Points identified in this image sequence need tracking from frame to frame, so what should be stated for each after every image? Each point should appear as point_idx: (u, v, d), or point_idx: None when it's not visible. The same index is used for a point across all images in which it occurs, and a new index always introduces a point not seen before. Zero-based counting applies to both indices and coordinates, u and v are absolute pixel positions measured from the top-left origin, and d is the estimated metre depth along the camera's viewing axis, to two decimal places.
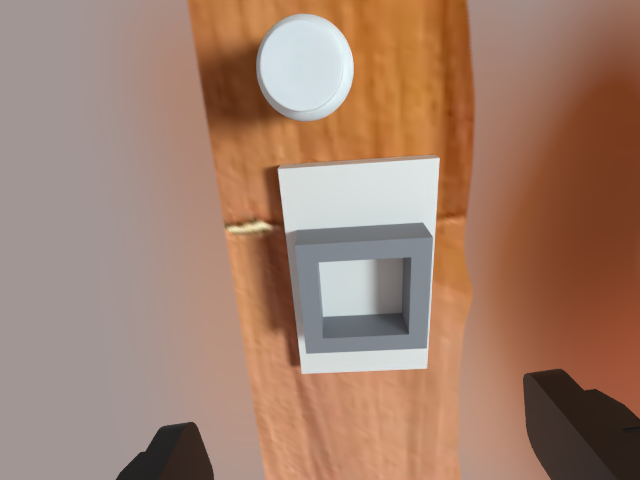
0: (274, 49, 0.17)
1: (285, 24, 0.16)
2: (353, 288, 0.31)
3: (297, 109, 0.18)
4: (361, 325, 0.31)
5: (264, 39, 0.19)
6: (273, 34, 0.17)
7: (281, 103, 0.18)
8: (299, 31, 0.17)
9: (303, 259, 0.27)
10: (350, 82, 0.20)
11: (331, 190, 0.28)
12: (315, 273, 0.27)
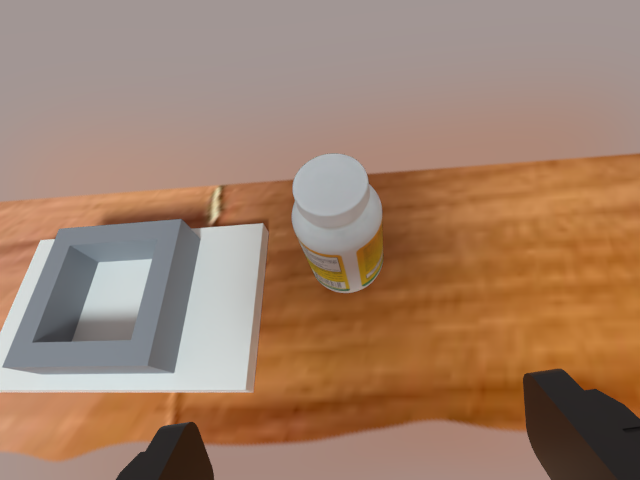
0: (345, 163, 0.19)
1: (364, 171, 0.19)
2: (119, 294, 0.27)
3: (294, 180, 0.19)
4: (69, 295, 0.26)
5: None
6: (357, 162, 0.19)
7: (301, 168, 0.19)
8: (358, 181, 0.18)
9: (164, 226, 0.26)
10: (321, 248, 0.20)
11: (233, 271, 0.27)
12: (145, 238, 0.26)
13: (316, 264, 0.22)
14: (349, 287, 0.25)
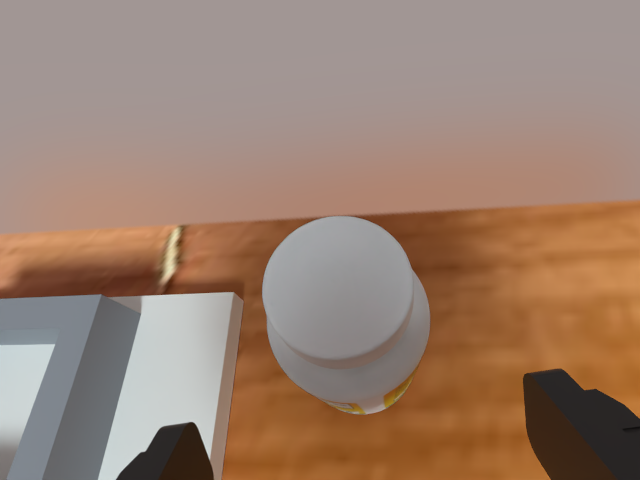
0: (367, 238, 0.10)
1: (404, 257, 0.09)
2: (14, 402, 0.18)
3: (267, 271, 0.10)
4: None
5: None
6: (389, 238, 0.10)
7: (281, 245, 0.10)
8: (393, 280, 0.09)
9: (74, 307, 0.16)
10: (318, 392, 0.11)
11: (184, 372, 0.17)
12: (43, 325, 0.16)
13: None
14: (365, 413, 0.15)
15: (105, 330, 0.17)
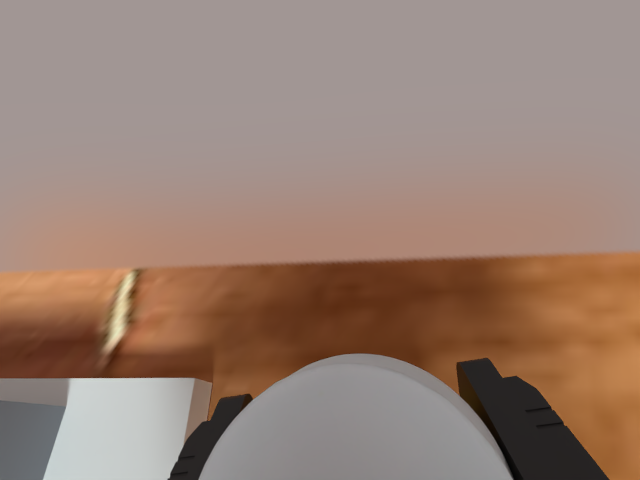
0: (420, 431, 0.04)
1: None
2: None
3: None
4: None
5: (443, 387, 0.07)
6: (471, 435, 0.04)
7: (230, 433, 0.05)
8: None
9: None
10: None
11: None
12: None
13: None
14: None
15: None
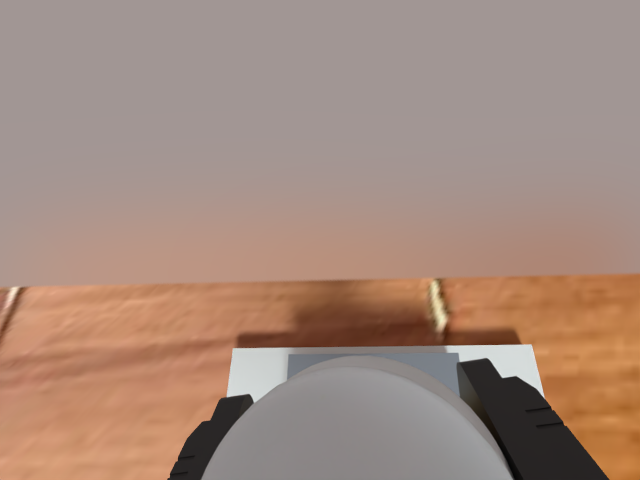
0: (421, 435, 0.04)
1: None
2: None
3: None
4: None
5: (444, 390, 0.07)
6: (474, 439, 0.04)
7: (231, 437, 0.05)
8: None
9: (438, 363, 0.21)
10: None
11: None
12: None
13: None
14: None
15: None
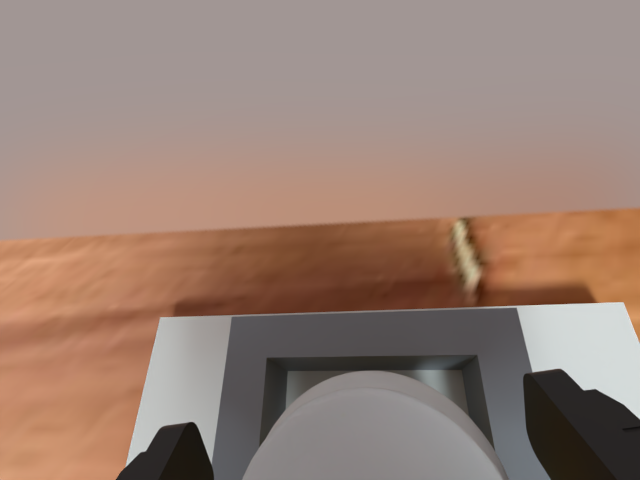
0: (429, 449, 0.05)
1: None
2: None
3: None
4: None
5: (448, 403, 0.07)
6: (474, 452, 0.05)
7: (264, 449, 0.05)
8: None
9: (482, 325, 0.12)
10: None
11: None
12: (446, 351, 0.12)
13: None
14: None
15: None
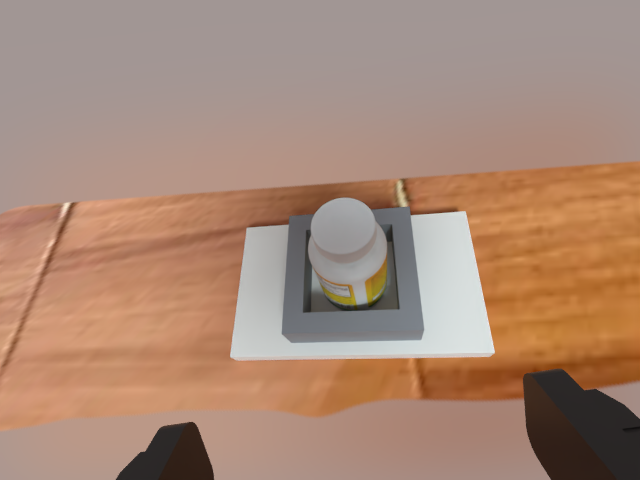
0: (356, 206, 0.22)
1: (372, 214, 0.22)
2: None
3: (312, 221, 0.22)
4: (308, 273, 0.30)
5: None
6: (365, 206, 0.22)
7: (318, 210, 0.23)
8: (367, 223, 0.22)
9: (395, 213, 0.29)
10: (334, 278, 0.23)
11: (449, 252, 0.30)
12: (380, 223, 0.29)
13: (329, 290, 0.26)
14: (357, 309, 0.28)
15: None
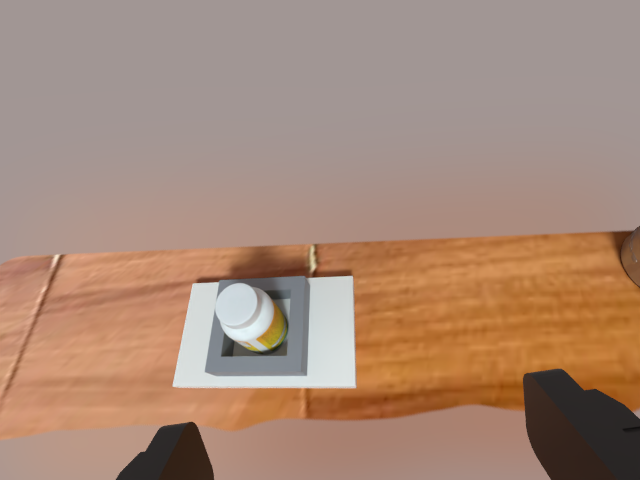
0: (246, 290, 0.33)
1: (255, 297, 0.32)
2: None
3: (217, 300, 0.33)
4: None
5: (262, 291, 0.35)
6: (252, 290, 0.33)
7: (221, 292, 0.33)
8: (251, 303, 0.32)
9: (294, 281, 0.40)
10: (234, 338, 0.34)
11: (336, 309, 0.41)
12: (282, 288, 0.40)
13: None
14: (262, 352, 0.38)
15: (306, 290, 0.40)
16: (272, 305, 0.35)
